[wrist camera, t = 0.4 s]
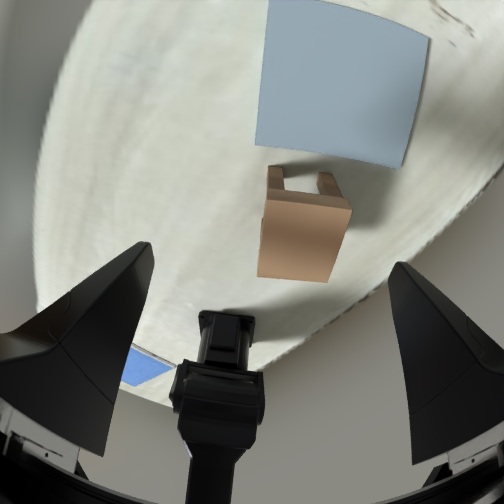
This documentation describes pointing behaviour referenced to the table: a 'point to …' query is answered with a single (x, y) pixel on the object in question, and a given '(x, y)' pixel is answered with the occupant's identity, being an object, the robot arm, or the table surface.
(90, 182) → the table surface
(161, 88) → the table surface
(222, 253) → the table surface
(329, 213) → the walnut stool
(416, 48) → the slate mat
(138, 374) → the tablet computer
